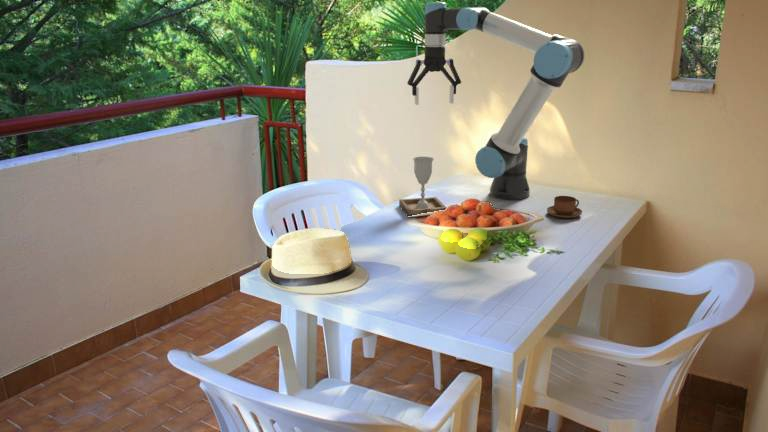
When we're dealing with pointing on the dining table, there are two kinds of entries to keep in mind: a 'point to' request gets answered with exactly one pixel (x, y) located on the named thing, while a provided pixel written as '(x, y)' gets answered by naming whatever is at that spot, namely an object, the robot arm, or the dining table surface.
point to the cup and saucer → (564, 207)
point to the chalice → (422, 176)
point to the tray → (410, 209)
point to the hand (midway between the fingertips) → (434, 103)
